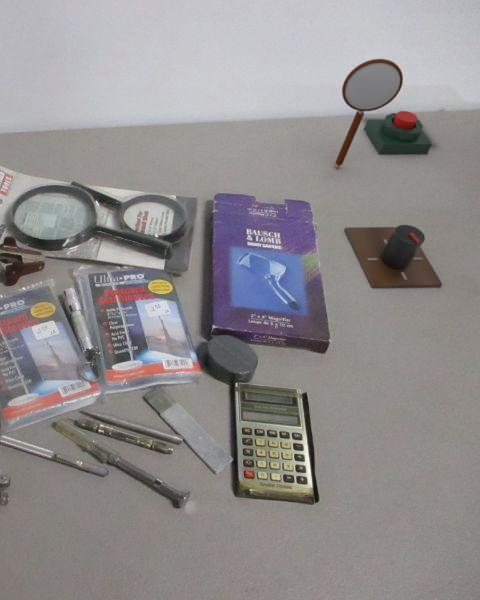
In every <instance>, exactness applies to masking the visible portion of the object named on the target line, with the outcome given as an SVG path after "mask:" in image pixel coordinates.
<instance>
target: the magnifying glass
mask: <svg viewBox="0 0 480 600" xmlns="http://www.w3.org/2000/svg"><path fill="white" fill-rule="evenodd" d="M403 80H404V76H403V72H402V70H401V68H400V67H399V65H398V64H397V63H395V62H394V61H392V60H390V59H385V58H374V59H370V60H366V61H363V62H362V63H360V64H359V65H357V66H355V67H354V68H353V69H352V70H351V71H350V72H349V73H348V74H347V75H346V77H345V79H344V81H343V84H342V88H341V95H342V98H343V101H344V102H345V104H346V105H347V106H348V107H349V108H351V109H353V110H356V113H355V115H354V118H353V119H352V121H351V124H350V126H349V129H348V131H347V134H346V136H345V138H344V141H343V142H342V146H341V148H340V150H339V152H338V155H337V157H336V159H335V163H334V164H335V165H334V167H335V168H336V169H339V168H340V167H341V166H342V165H343V163H344V161H345V159H346V156H347V155H348V152H349V150H350V147H351V145H352V144H353V143H352V142H353V140H354V138H355V135H356V133H357V131H358V129H359V127H360V124H361V122H362V120H363V118H364V115H365V113H364V112H372V111H376V110H380V109H382V108H384V107H385V106H387V105H388V104H390V103H391V102H392V101H394V99H395V98H396V97H397V96H398V94H399V93H400V91H401V89H402V86H403V82H404V81H403Z"/></svg>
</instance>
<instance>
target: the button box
mask: <svg viewBox="0 0 480 600" xmlns="http://www.w3.org/2000/svg"><path fill="white" fill-rule="evenodd" d="M397 113H398V112H392V113H389V114H387V115H386V116H385V117H384V119H367V120H366V123H365V126H364V128H363V131H364V130H365V131H366V132H365V131H364V132H365V135H366V136H367V138H368V139H369V141H370V142H371V144H372V145H373V147H374V149H375V151H376V152H377V154H378V155H427V154H429V151H430V150H431V148H432V146H433V143H432V141H431V140H430V139H429V137H428V136H427V135H426V133H425V131H424V130H423V128H424V125H423V124H422V122H421V121H420V120H419V119H417V121H416V123H415V125H414V127H413V129H411V130H405V129H401V128H398V127H397V126H395V125H394V124H393V120H394V118H395V116H396V114H397Z"/></svg>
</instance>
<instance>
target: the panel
mask: <svg viewBox="0 0 480 600" xmlns="http://www.w3.org/2000/svg"><path fill="white" fill-rule="evenodd" d="M396 227H397V226H385V227H384V226H373V227H372V226H368V227H366V226H365V227H362V226H361V227H358V226H357V227H354V226H353V227H345V228H344V230H343V231H344V233H345V235H346V237H347V240H348V242H349V244H350V246H351V248H352V250H353V253H354V254H355V257H356V258H357V261H358V262H359V265H360V267H361V269H362V271H363V273H364V275H365V277H366V279H367V282H368V283H369V285H370V287H371V289H413V288H415V289H418V288H419V289H420V288H426V289H427V288H441V287H442V286H443V282H442V281H441V279H440V278H439V276H438V274H437V273H436V271H435V269H434V267H433V266H432V264H431V263H430V261H429V259H428V257H427V255H426V254H425V252H424V250H423V248H422V246H421V247H420V248H419V250H418V251H417V253H416V255H415V256H414V258H413V259H412V261H411V262H410V264H409V265H408V267H406V268H404V269H396V268H392V267H390V266H388V265H386V264H385V263H384V262H383V261H382V259H381V253H382V251H383V249H384V248H385V246H386V244H387V242H388V241H389V239H390V237H391V235H392V234H393V232H394V230H395V228H396Z"/></svg>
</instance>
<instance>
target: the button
mask: <svg viewBox="0 0 480 600" xmlns="http://www.w3.org/2000/svg"><path fill="white" fill-rule="evenodd" d="M396 113H397V114H396V116H395V118H394V120H393V124H394V125H395V126H397V127H398V128H401V129H405V130H411V129H413V127H414V125H415V123H416V121H417V119H418V116H417V115H416V114H415V113H413V112H411V111H407V110H400V111H397V112H396ZM418 120H419V119H418Z"/></svg>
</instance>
